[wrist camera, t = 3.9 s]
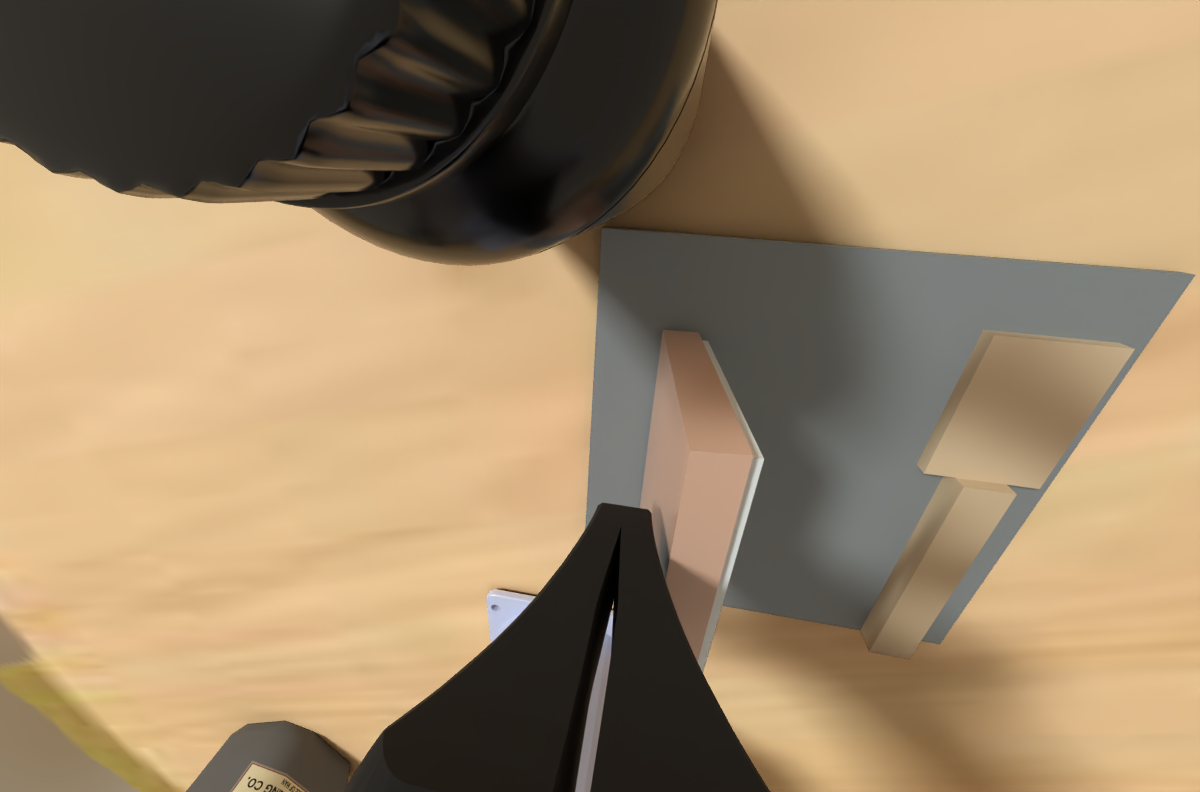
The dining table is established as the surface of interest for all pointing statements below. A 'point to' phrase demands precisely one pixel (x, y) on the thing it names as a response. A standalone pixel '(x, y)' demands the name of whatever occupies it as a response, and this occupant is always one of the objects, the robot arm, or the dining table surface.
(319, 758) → the liquor
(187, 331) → the dining table surface
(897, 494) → the mat
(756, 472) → the tile
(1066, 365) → the turner
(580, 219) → the supplement bottle
